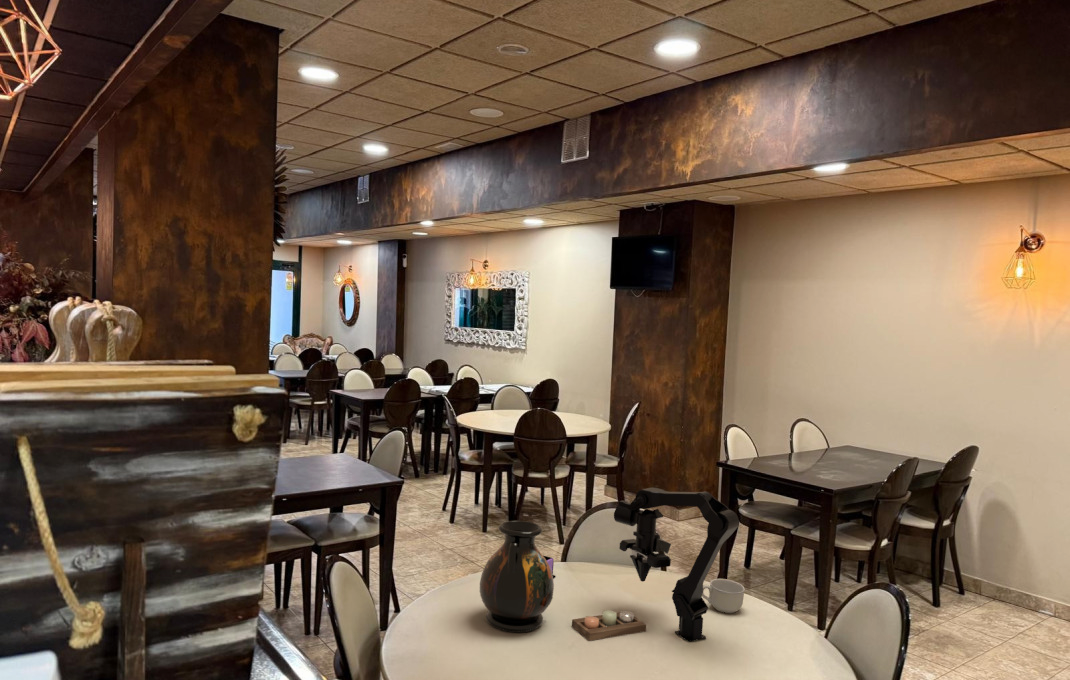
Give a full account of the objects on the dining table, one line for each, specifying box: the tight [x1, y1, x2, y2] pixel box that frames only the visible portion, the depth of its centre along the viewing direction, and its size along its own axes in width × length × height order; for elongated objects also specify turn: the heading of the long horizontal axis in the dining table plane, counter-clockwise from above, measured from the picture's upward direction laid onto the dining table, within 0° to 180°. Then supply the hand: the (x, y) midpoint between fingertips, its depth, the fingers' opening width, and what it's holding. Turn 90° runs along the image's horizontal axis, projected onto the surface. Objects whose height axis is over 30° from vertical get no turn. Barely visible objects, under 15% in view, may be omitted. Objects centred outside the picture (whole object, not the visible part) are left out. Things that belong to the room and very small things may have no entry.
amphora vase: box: [479, 520, 555, 633], centre depth 205 cm, size 22×22×28 cm
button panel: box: [571, 611, 647, 642], centre depth 204 cm, size 10×19×2 cm, turn 117°
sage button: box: [602, 610, 618, 627], centre depth 204 cm, size 4×4×3 cm
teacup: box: [702, 578, 746, 614], centre depth 225 cm, size 14×11×8 cm
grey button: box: [619, 610, 635, 624], centre depth 207 cm, size 4×4×3 cm
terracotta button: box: [584, 615, 599, 629], centre depth 202 cm, size 4×4×3 cm
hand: (642, 581), depth 214 cm, fingers closed
